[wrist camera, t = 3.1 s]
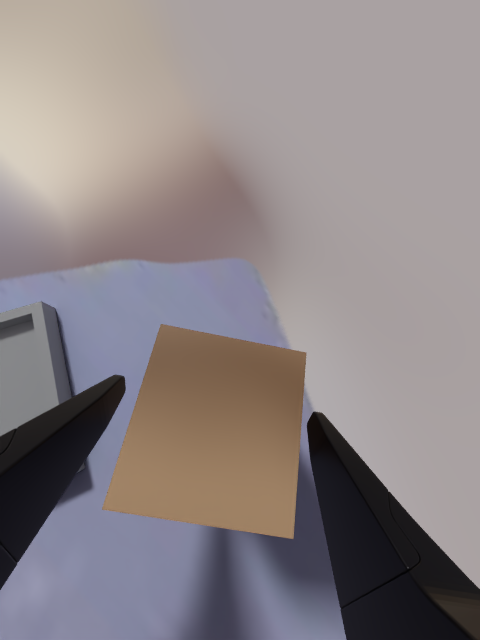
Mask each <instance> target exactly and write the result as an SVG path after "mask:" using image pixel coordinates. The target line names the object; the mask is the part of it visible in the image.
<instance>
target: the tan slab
mask: <svg viewBox="0 0 480 640" xmlns="http://www.w3.org/2000/svg"><path fill="white" fill-rule="evenodd" d="M305 364H306V353H305V352H300V351H295V350H290V349H285V348H280V347H275V346H270V345H265V344H260V343H255V342H249V341H244V340H239V339H234V338H229V337H224V336H219V335H214V334H209V333H204V332H199V331H194V330H189V329H183V328H178V327H173V326H168V325H163V324H161V325H160V328H159V332H158V335H157V338H156V341H155V344H154V347H153V350H152V354H151V357H150V360H149V363H148V366H147V369H146V372H145V376H144V379H143V382H142V385H141V388H140V391H139V394H138V398H137V401H136V404H135V407H134V410H133V413H132V416H131V420H130V423H129V426H128V429H127V432H126V435H125V439H124V442H123V445H122V448H121V451H120V454H119V457H118V461H117V464H116V467H115V470H114V473H113V476H112V479H111V483H110V486H109V489H108V492H107V495H106V498H105V501H104V505H103V508H102V510H109V511H115V512H122V513H128V514H135V515H141V516H148V517H154V518H161V519H167V520H174V521H180V522H187V523H193V524H200V525H206V526H212V527H219V528H225V529H232V530H238V531H245V532H251V533H258V534H264V535H271V536H277V537H284V538H290V539H293V537H294V523H295V508H296V494H297V479H298V465H299V451H300V436H301V422H302V407H303V393H304V378H305Z"/></svg>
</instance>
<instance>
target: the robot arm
mask: <svg viewBox="0 0 480 640" xmlns="http://www.w3.org/2000/svg"><path fill="white" fill-rule="evenodd" d="M125 390H126V387H125V377H124V376H121V375H113V376H111V377H109V378H107V379H105V380H104V381H102V382H100V383H98V384H96V385H94V386H92V387H91V388H89V389H87V390H85V391H83V392H81V393H80V394H78V395H76V396H74V397H72V398H70V399H68V400H67V401H65V402H63V403H61V404H59V405H57V406H55V407H54V408H52V409H50V410H48V411H46V412H44V413H42V414H41V415H39V416H37V417H35V418H33V419H31V420H29V421H28V422H26V423H24V424H22V425H20V426H18V427H17V428H14V429H13V430H11V431H9V432H7V433H5V434H3V435H1V436H0V590H1V588H2V587H3V585H4V584H5V582H6V581H7V579H8V577H9V576H10V574H11V573H12V571H13V570H14V568H15V567H16V565H17V562H19V560H20V559H21V557H22V556H23V554H24V553H25V551H26V550H27V548H28V547H29V545H30V544H31V542H32V541H33V539H34V538H35V536H36V534H37V533H38V531H39V530H40V528H41V527H42V525H43V524H44V522H45V521H46V519H47V518H48V516H49V515H50V513H51V512H52V510H53V509H54V507H55V506H56V504H57V502H58V501H59V499H60V498H61V496H62V495H63V493H64V492H65V490H66V489H67V487H68V486H69V484H70V483H71V481H72V480H73V478H74V477H75V475H76V473H77V472H78V470H79V469H80V467H81V466H82V464H83V463H84V461H85V460H86V458H87V457H88V455H89V454H90V452H91V451H92V449H93V448H94V446H95V445H96V443H97V441H98V440H99V438H100V437H101V435H102V434H103V432H104V431H105V429H106V428H107V426H108V424H109V422H110V420H111V419H112V417H113V415H114V413H115V411H116V409H117V407H118V405H119V403H120V401H121V399H122V397H123V396H124V393H125ZM307 432H308V442H309V452H310V460H311V466H312V471H313V476H314V481H315V486H316V491H317V496H318V501H319V506H320V511H321V516H322V520H323V525H324V530H325V535H326V540H327V545H328V550H329V555H330V560H331V565H332V570H333V575H334V580H335V584H336V589H337V594H338V599H339V604H340V608H341V615H342V620H343V625H344V630H345V634H346V639H347V640H480V589H479V588H478V587H477V586H476V585H475V584H474V583H473V582H472V581H471V580H470V579H469V578H468V577H467V576H466V575H465V574H464V573H463V572H462V571H461V570H460V569H459V568H458V566H457V565H456V564H455V563H454V562H453V561H452V560H451V559H450V558H449V557H448V556H447V555H446V554H445V552H444V551H443V550H442V549H440V547H439V546H438V545H437V544H436V543H435V542H434V541H433V540H432V539H431V538H430V537H429V536H428V534H427V533H426V532H425V531H424V530H423V529H422V528H421V527H420V526H419V525H418V524H417V522H415V520H414V519H413V518H412V517H411V516H410V515H409V514H408V513H407V511H406V510H405V509H404V508H403V507H402V506H401V504H400V503H399V502H398V501H397V500H396V499H395V497H394V496H393V495H392V494H391V493H390V492H388V489H387V488H386V487H385V486H384V485H383V483H382V482H381V481H380V480H379V479H378V478H377V476H376V475H375V474H374V473H373V472H372V470H371V469H370V468H369V467H368V466H367V465H366V463H365V462H364V461H363V460H362V459H361V458H360V456H359V455H358V454H357V453H356V452H355V451H354V449H353V448H352V447H351V446H350V445H349V444H348V442H347V441H346V440H345V439H344V438H343V436H342V435H341V434H340V433H339V432H338V430H337V429H336V428H335V427H334V426H333V425H332V423H331V422H330V421H329V420H328V419H327V418H326V416H325V415H324V414H323V413H320V412H313V413H312V415H311V417H310V419H309V421H308V423H307Z"/></svg>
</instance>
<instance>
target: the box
mask: <svg viewBox="0 0 480 640" xmlns="http://www.w3.org/2000/svg"><path fill="white" fill-rule="evenodd" d="M70 398H72V396H71V391H70V385H69V380H68V375H67V370H66V364H65V359H64V354H63V349H62V343H61V338H60V333H59V327H58V322H57V317H56V312H55V308H54V307H52V306H50V305H48V304H46V303H44V302H37V303H34V304H30V305H27V306H23V307H20V308H17V309H13V310H10V311H6V312H3V313H0V436H1V435H3V434H5V433H7V432H9V431H11V430H13V429H14V428H17V427H18V426H20V425H22V424H24V423H26V422H28V421H29V420H31V419H33V418H35V417H37V416H39V415H41V414H42V413H44V412H46V411H48V410H50V409H52V408H54V407H55V406H57V405H59V404H61V403H63V402H65V401H67V400H68V399H70ZM84 468H85V465H84V463H83V464H82V466H81V467H80V469H79V470H78V472H80V471H81V470H83V469H84ZM78 472H77V473H78Z"/></svg>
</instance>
